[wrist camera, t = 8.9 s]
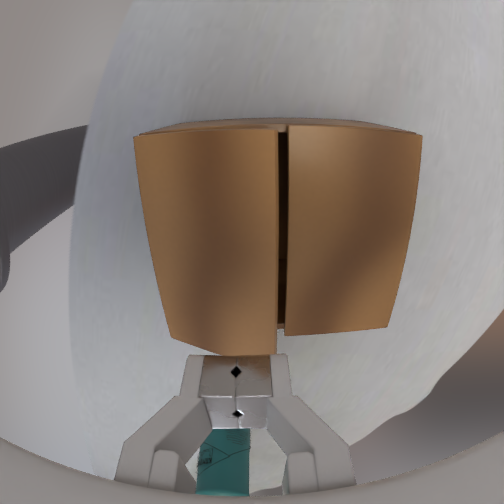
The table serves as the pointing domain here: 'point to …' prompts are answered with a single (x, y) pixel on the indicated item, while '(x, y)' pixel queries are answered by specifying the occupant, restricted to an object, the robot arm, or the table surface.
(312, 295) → the carton
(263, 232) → the flap
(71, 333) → the table surface
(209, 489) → the beverage bottle
